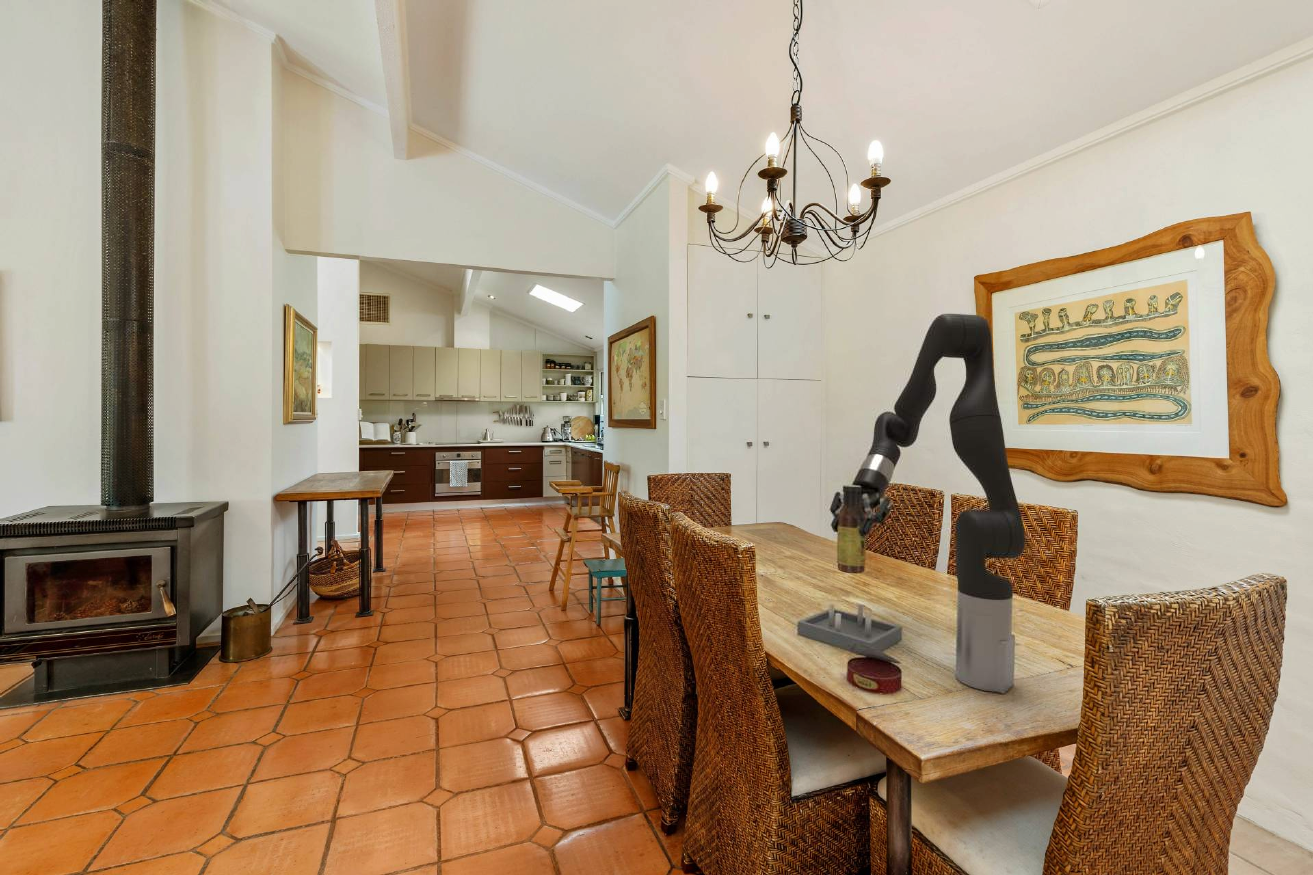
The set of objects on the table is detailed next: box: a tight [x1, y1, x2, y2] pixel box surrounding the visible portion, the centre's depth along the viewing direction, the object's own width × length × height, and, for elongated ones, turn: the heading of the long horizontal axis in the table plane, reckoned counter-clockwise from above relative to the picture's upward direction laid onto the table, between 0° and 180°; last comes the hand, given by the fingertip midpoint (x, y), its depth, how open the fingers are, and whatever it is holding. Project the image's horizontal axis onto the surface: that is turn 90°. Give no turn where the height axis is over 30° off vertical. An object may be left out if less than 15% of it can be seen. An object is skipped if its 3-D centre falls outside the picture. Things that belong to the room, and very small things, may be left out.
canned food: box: [846, 642, 903, 695], centre depth 111 cm, size 11×10×10 cm
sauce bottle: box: [836, 484, 867, 575], centre depth 134 cm, size 7×6×20 cm
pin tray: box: [797, 603, 903, 652], centre depth 134 cm, size 18×15×6 cm
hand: (847, 532), depth 133 cm, fingers closed on sauce bottle, 6 cm apart
